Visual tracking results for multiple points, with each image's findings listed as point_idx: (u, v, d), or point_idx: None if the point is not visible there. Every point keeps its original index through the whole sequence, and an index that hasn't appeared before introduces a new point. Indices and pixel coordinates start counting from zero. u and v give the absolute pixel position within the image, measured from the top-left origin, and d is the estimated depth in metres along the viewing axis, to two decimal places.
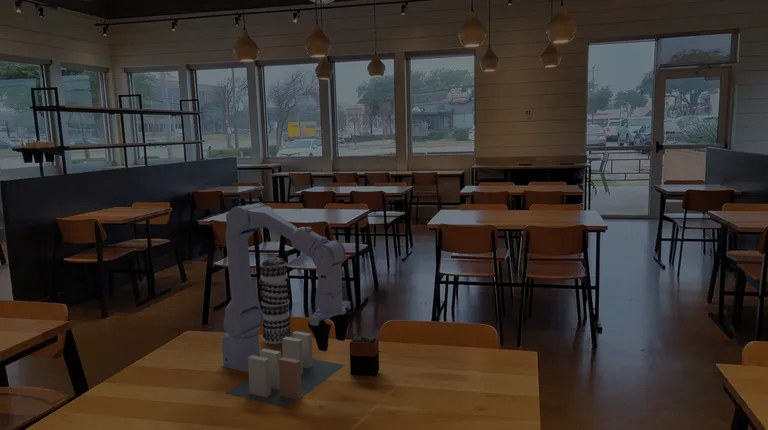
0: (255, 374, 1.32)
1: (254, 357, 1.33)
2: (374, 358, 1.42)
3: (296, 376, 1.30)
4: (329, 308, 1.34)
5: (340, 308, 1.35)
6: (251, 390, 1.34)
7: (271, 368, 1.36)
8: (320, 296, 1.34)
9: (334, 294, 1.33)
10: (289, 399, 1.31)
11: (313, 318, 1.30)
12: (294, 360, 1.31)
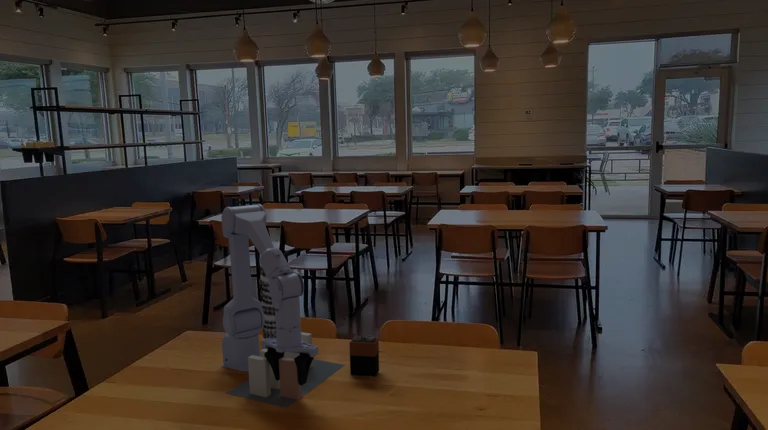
0: (255, 374, 1.33)
1: (254, 357, 1.33)
2: (374, 358, 1.42)
3: (296, 376, 1.30)
4: (276, 340, 1.30)
5: (281, 345, 1.28)
6: (251, 390, 1.34)
7: (271, 368, 1.36)
8: None
9: (276, 327, 1.28)
10: (289, 399, 1.31)
11: None
12: None
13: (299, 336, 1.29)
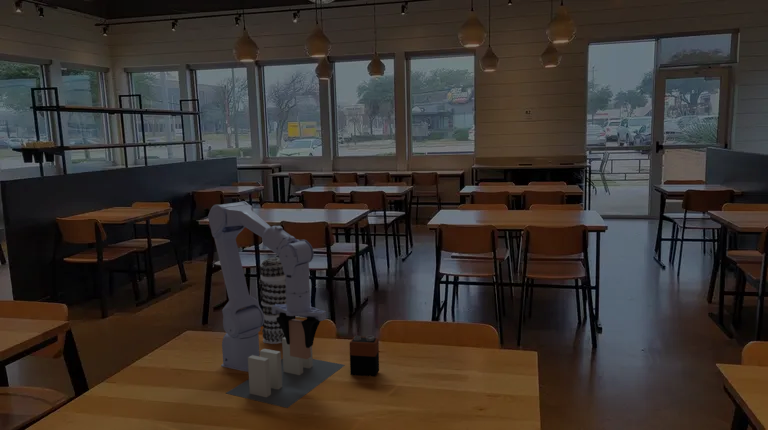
0: (255, 374, 1.32)
1: (254, 357, 1.33)
2: (374, 358, 1.42)
3: None
4: (286, 305, 1.36)
5: (291, 309, 1.34)
6: (251, 390, 1.34)
7: (271, 368, 1.36)
8: None
9: (286, 292, 1.35)
10: (289, 399, 1.31)
11: None
12: None
13: (308, 301, 1.35)
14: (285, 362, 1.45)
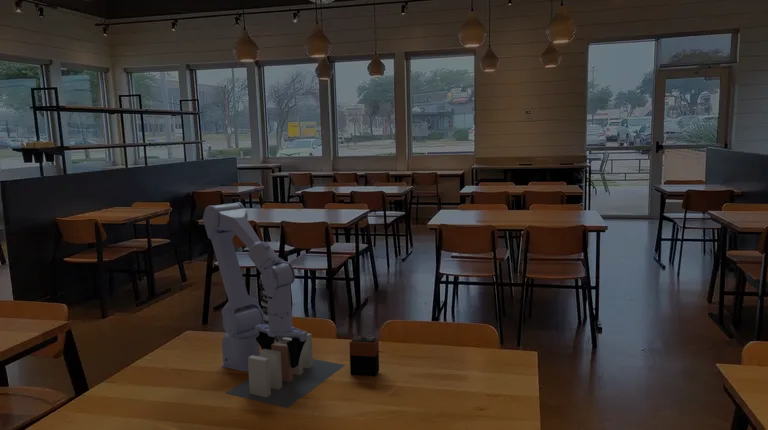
0: (255, 374, 1.32)
1: (254, 357, 1.33)
2: (374, 358, 1.42)
3: (287, 360, 1.39)
4: None
5: (273, 330, 1.37)
6: (251, 390, 1.34)
7: (271, 368, 1.36)
8: None
9: (268, 313, 1.38)
10: (289, 399, 1.31)
11: None
12: (285, 345, 1.40)
13: (290, 322, 1.39)
14: None
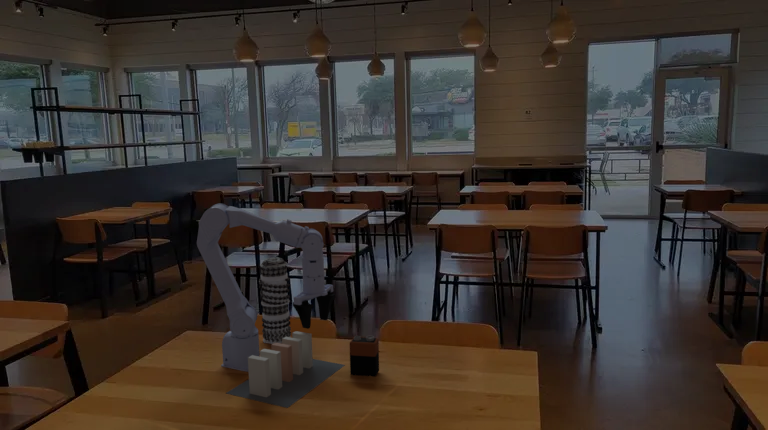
0: (255, 374, 1.32)
1: (254, 357, 1.33)
2: (374, 358, 1.42)
3: (287, 360, 1.39)
4: (312, 290, 1.49)
5: (322, 290, 1.50)
6: (251, 390, 1.34)
7: (271, 368, 1.36)
8: (304, 279, 1.49)
9: (316, 277, 1.48)
10: (289, 399, 1.31)
11: (296, 298, 1.45)
12: (285, 345, 1.40)
13: None
14: None
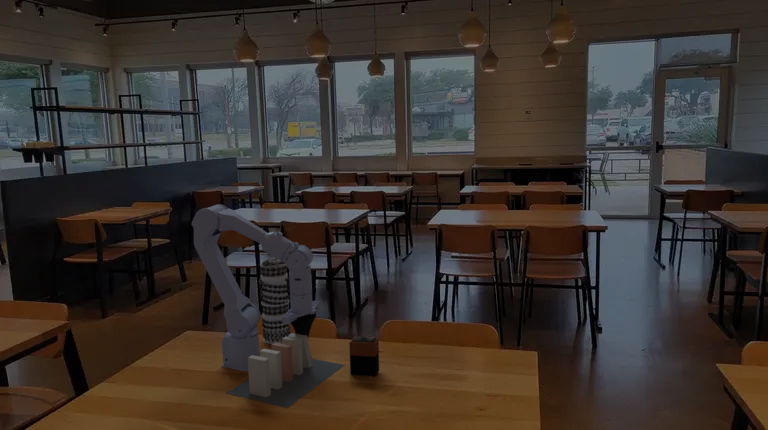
0: (255, 374, 1.32)
1: (254, 357, 1.33)
2: (374, 358, 1.42)
3: (287, 360, 1.39)
4: (300, 308, 1.45)
5: (310, 308, 1.47)
6: (251, 390, 1.34)
7: (271, 368, 1.36)
8: (292, 297, 1.45)
9: (305, 295, 1.45)
10: (289, 399, 1.31)
11: (285, 317, 1.41)
12: (285, 345, 1.40)
13: None
14: None
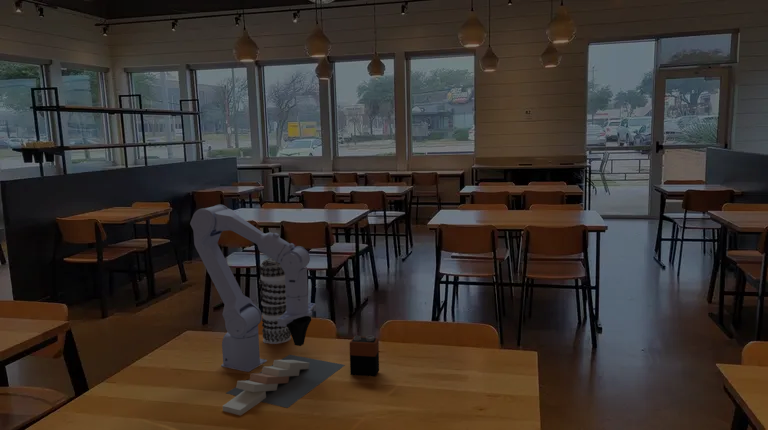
0: None
1: (227, 411, 1.25)
2: (374, 358, 1.42)
3: None
4: (296, 310, 1.43)
5: (306, 310, 1.45)
6: None
7: None
8: (287, 299, 1.44)
9: (300, 297, 1.43)
10: (289, 399, 1.31)
11: (281, 320, 1.40)
12: (262, 378, 1.32)
13: None
14: None
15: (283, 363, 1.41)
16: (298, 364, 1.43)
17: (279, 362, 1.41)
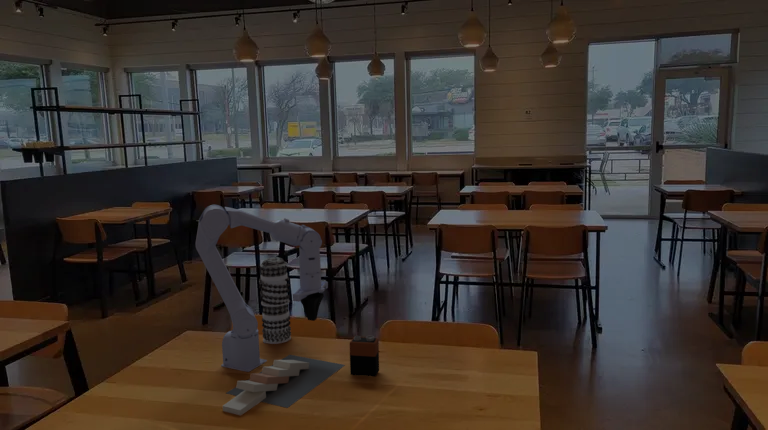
0: None
1: (227, 411, 1.25)
2: (374, 358, 1.42)
3: None
4: (310, 287, 1.52)
5: (319, 286, 1.54)
6: None
7: None
8: (301, 276, 1.53)
9: (314, 274, 1.52)
10: (289, 399, 1.31)
11: (296, 295, 1.49)
12: (262, 378, 1.32)
13: None
14: None
15: (283, 363, 1.41)
16: (298, 364, 1.43)
17: (279, 362, 1.41)
